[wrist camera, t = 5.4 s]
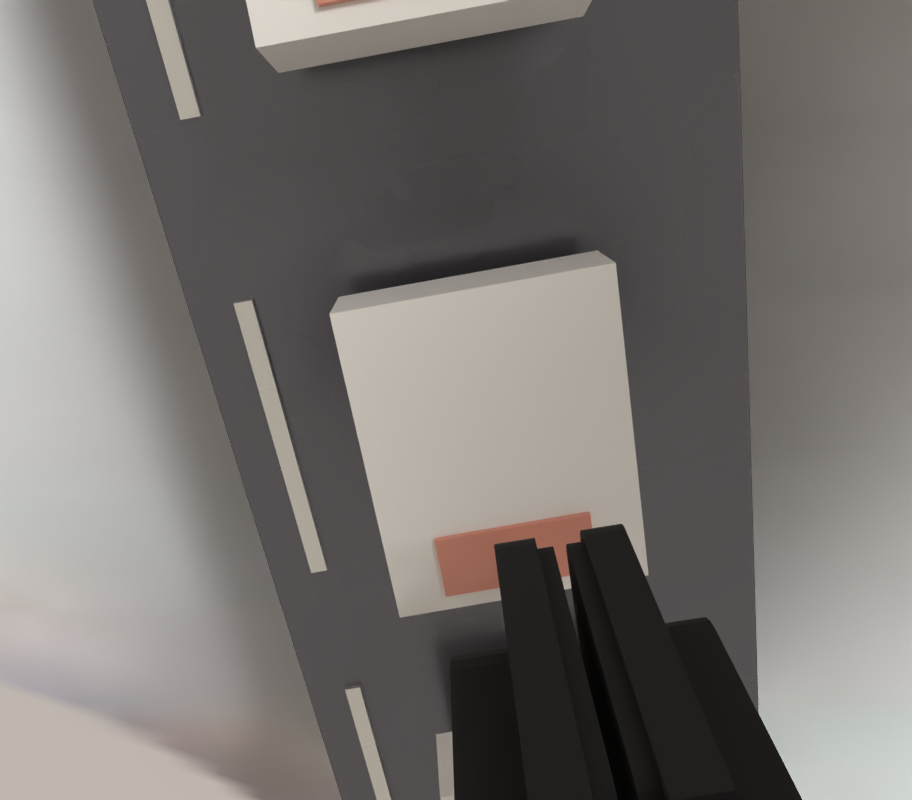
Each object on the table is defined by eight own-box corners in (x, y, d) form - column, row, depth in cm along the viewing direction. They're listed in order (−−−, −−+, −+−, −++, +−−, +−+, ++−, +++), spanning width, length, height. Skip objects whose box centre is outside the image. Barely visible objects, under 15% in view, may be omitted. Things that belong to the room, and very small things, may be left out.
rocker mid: (338, 296, 12) (328, 315, 11) (597, 250, 12) (617, 263, 11) (401, 577, 13) (399, 620, 12) (629, 537, 13) (650, 579, 12)
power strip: (-56, -809, 11) (-405, -1469, 6) (594, -947, 10) (730, -1734, 6) (380, 757, 21) (370, 934, 17) (701, 703, 21) (778, 869, 17)
